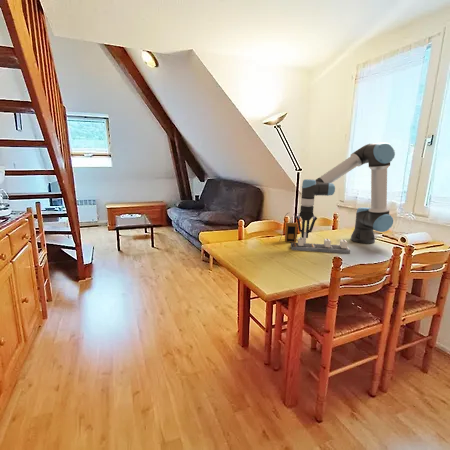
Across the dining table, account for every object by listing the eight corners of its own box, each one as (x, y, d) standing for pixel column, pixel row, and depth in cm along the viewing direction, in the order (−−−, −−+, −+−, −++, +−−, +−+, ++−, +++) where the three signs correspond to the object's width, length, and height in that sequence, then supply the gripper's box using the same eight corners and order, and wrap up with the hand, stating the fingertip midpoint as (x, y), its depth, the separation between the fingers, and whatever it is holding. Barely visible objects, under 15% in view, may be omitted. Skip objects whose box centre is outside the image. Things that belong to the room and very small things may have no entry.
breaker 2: (328, 245, 181) (329, 238, 180) (330, 247, 176) (331, 240, 175) (323, 244, 181) (324, 238, 180) (325, 247, 176) (325, 240, 175)
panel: (345, 248, 182) (346, 245, 182) (350, 253, 172) (350, 250, 172) (290, 245, 187) (290, 242, 187) (291, 250, 178) (291, 246, 177)
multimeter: (299, 238, 203) (301, 210, 198) (301, 242, 193) (303, 213, 189) (278, 237, 204) (279, 210, 200) (279, 241, 195) (281, 212, 190)
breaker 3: (344, 246, 179) (345, 239, 178) (346, 248, 175) (347, 241, 174) (339, 245, 180) (340, 239, 179) (341, 248, 175) (342, 241, 174)
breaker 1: (302, 243, 183) (302, 237, 182) (303, 246, 178) (303, 239, 177) (297, 243, 184) (298, 237, 183) (298, 245, 179) (298, 239, 178)
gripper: (317, 204, 178) (314, 241, 183) (295, 204, 180) (293, 240, 185) (319, 206, 170) (315, 245, 176) (296, 205, 172) (293, 244, 178)
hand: (304, 242), depth 180 cm, fingers closed
